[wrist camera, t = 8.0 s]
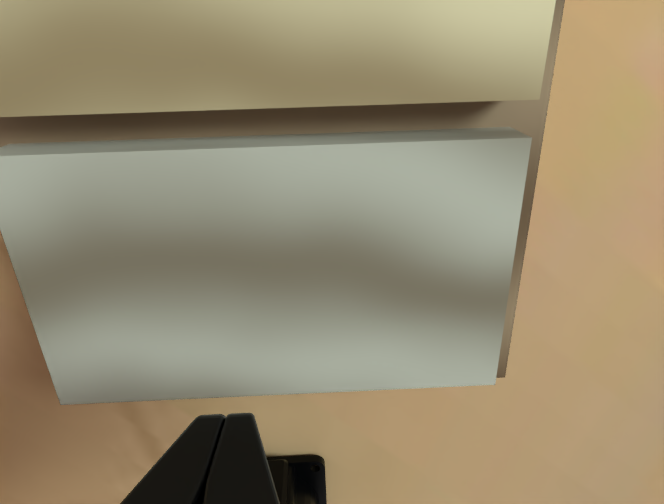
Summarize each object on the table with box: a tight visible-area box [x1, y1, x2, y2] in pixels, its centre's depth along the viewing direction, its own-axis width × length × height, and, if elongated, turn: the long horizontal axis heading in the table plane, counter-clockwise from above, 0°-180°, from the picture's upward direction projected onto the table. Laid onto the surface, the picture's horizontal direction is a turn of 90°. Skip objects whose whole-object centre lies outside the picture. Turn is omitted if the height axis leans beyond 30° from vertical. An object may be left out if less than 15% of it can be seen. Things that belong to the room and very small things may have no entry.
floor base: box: [0, 0, 565, 405], centre depth 14 cm, size 24×16×6 cm, turn 2°
